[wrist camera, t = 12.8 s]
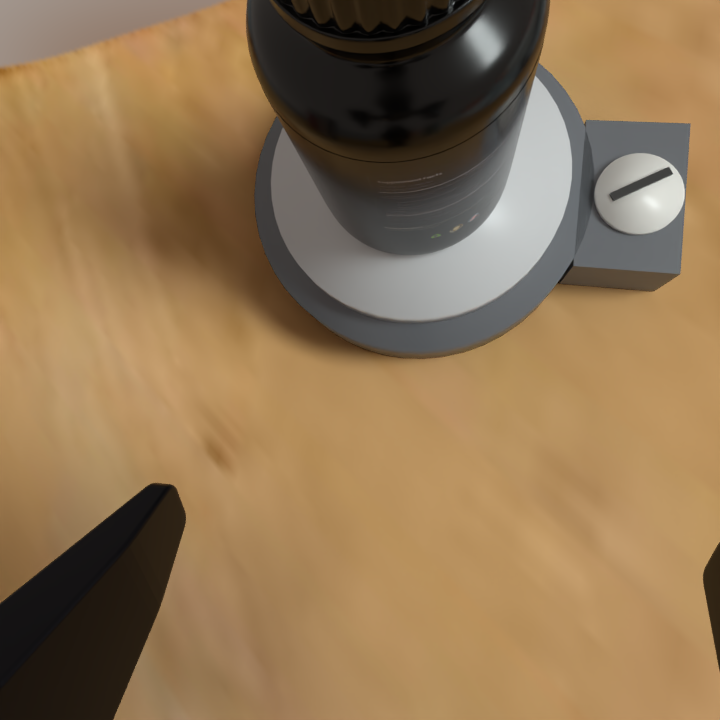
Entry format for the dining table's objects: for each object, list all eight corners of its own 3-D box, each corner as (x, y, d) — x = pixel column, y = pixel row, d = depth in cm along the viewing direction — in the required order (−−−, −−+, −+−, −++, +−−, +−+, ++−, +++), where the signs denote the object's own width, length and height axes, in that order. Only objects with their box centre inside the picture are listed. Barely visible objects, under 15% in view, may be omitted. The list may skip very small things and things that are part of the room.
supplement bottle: (292, 141, 21) (106, -214, 10) (454, 52, 21) (465, -437, 9) (371, 296, 20) (267, 109, 8) (544, 206, 20) (693, -127, 8)
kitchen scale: (647, 383, 22) (685, 375, 18) (253, 342, 24) (222, 327, 21) (669, 71, 23) (709, 8, 20) (294, 63, 26) (271, 7, 22)
